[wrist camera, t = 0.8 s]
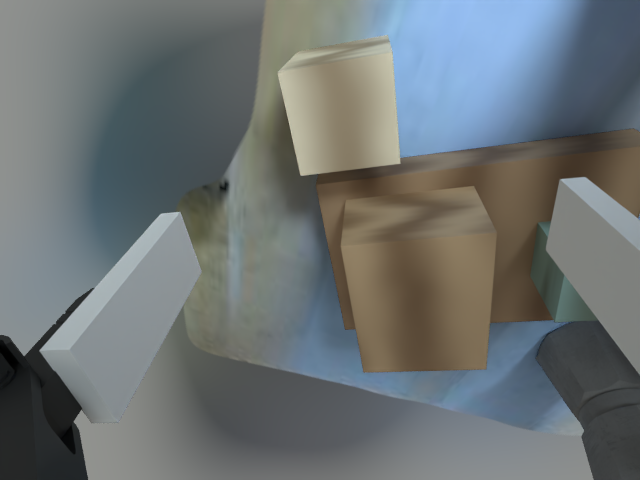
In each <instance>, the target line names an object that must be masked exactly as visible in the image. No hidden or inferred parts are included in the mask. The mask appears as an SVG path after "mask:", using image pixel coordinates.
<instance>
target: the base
mask: <svg viewBox="0 0 640 480" xmlns="http://www.w3.org/2000/svg"><path fill="white" fill-rule="evenodd" d="M579 177H586V178H587V179H588V180H590V181H591V182H592V183H593V184H595V185H596V186H597V187H599V188H600V189H601V190H602V191H604V192H605V193H606V194H607V195H609V196H610V197H611V198H613V199H614V200H615V201H616V202H618V203H619V204H620V205H621V206H623V207H624V208H625V209H627V210H628V211H629V212H630V213H632V214H633V215H634V216H635V217H637V218H638V217H639V214H640V132H639V131H637V130H636V129H626V130H618V131H610V132H602V133H594V134H587V135H579V136H571V137H563V138H555V139H547V140H539V141H531V142H523V143H515V144H507V145H499V146H491V147H483V148H476V149H468V150H460V151H452V152H444V153H436V154H428V155H420V156H412V157H404V158H400V164H394V165H386V166H378V167H370V168H361V169H353V170H345V171H337V172H329V173H321V174H318V178H317V182H316V189H317V194H318V199H319V204H320V209H321V213H322V218H323V223H324V228H325V233H326V238H327V243H328V248H329V253H330V258H331V263H332V268H333V273H334V277H335V282H336V287H337V292H338V297H339V302H340V307H341V312H342V317H343V322H344V327H345V330H348V329H356V333H357V339H358V344H359V349H360V355H361V360H362V366H363V371H364V372H403V371H442V370H481V369H486V366H487V354H488V341H489V328H490V323H499V322H521V321H542V320H554V322H574V321H596V320H598V319H597V318H596V316H595V315H594V314H593V312H592V311H591V310H590V308H589V307H588V306H587V304H586V303H585V302H584V300H583V299H582V298H581V296H580V295H579V294H578V292H577V291H576V290H575V288H574V287H573V286H572V284H571V283H570V282H569V280H568V279H567V278H566V276H565V275H564V274H563V272H562V271H561V270H560V268H559V267H558V266H557V264H556V263H555V262H554V260H553V259H552V258H551V256H550V255H549V254H548V252H547V251H546V245H547V240H548V235H549V230H550V225H551V220H552V215H553V210H554V205H555V200H556V195H557V190H558V186H559V181H560V179H567V178H579Z"/></svg>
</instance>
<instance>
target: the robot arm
mask: <svg viewBox="0 0 640 480" xmlns="http://www.w3.org/2000/svg"><path fill="white" fill-rule="evenodd" d="M546 251H547V252H548V254H549V255H550V256H551V258H552V259H553V260H554V262H555V263H556V264H557V266H558V267H559V268H560V270H561V271H562V272H563V274H564V275H565V276H566V278H567V279H568V280H569V282H570V283H571V284H572V286H573V287H574V288H575V290H576V291H577V292H578V294H579V295H580V296H581V298H582V299H583V300H584V302H585V303H586V304H587V306H588V307H589V308H590V310H591V311H592V312H593V314H594V315H595V316H596V318H597V319H598V320H599V322H600V323H601V324H602V326H603V327H604V328H605V330H606V331H607V332H608V333H609V335H610V336H611V337H612V339H613V340H614V341H615V343H616V344H617V345H618V347H619V348H620V349H621V351H622V352H623V353H624V355H625V356H626V357H627V359H628V360H629V361H630V363H631V364H632V365H633V367H634V368H635V369H636V371H637V372H638V373H639V375H640V220H639V219H638V218H637V217H635V216H634V215H633V214H632V213H630V212H629V211H628V210H627V209H625V208H624V207H623V206H621V205H620V204H619V203H618V202H616V201H615V200H614V199H613V198H611V197H610V196H609V195H607V194H606V193H605V192H604V191H602V190H601V189H600V188H599V187H597V186H596V185H595V184H593V183H592V182H591V181H590V180H588V179H587V178H586V177H579V178H567V179H560V181H559V186H558V190H557V195H556V200H555V205H554V210H553V215H552V220H551V225H550V230H549V235H548V240H547V245H546ZM201 272H202V271H201V268H200V266H199V263H198V260H197V257H196V254H195V252H194V249H193V246H192V243H191V240H190V238H189V235H188V232H187V229H186V227H185V224H184V221H183V218H182V215H181V213H180V212H175V213H164V214H160V215H159V216H158V218H157V219H156V220H155V221H154V222H153V223H152V224H151V225H150V227H149V228H148V229H147V230H146V231H145V232H144V233H143V234H142V236H141V237H140V238H139V239H138V240H137V241H136V242H135V244H134V245H133V246H132V247H131V248H130V249H129V250H128V251H127V253H126V254H125V255H124V256H123V257H122V258H121V259H120V260H119V262H118V263H117V264H116V265H115V266H114V267H113V268H112V269H111V271H110V272H109V273H108V274H107V275H106V276H105V277H104V278H103V280H102V281H101V282H100V283H99V284H98V285H97V286H96V287H95V288H92V289H90V290H89V291H88V292H86V293H85V294H83V295H82V296H81V297H79V298H78V299H77V300H75V302H74V303H73V304H72V305H71V306H70V307H69V308H68V309H67V311H66V313H65V314H63V315H62V316H61V317H60V318H59V319H58V320H57V321H56V324H54V325H53V326H52V327H51V328H50V329H49V330H48V331H47V332H46V333H45V334H44V335H43V337H42V338H41V339H40V340H39V341H38V342H37V343H36V344H35V345H34V346H33V347H32V349H31V350H30V351H29V352H28V353H27V354H26V355H25V356H23V355H22V353H21V352H20V351H19V349H18V348H17V347H16V345H15V344H14V343H13V342H12V340H11V339H10V338H9V337H8V336H4V335H0V480H88V477H87V471H86V466H85V460H84V455H83V449H82V444H81V438H80V433H79V429H78V428H77V426H76V424H75V423H74V422H73V421H74V420H75V418H76V417H77V415H78V414H79V412H80V411H81V409H82V411H83V412H84V413H85V415H86V416H87V418H88V419H89V420H90V422H91V423H118V422H119V421H120V419H121V417H122V415H123V413H124V411H125V410H126V408H127V406H128V404H129V402H130V401H131V399H132V397H133V395H134V393H135V392H136V390H137V388H138V386H139V384H140V383H141V381H142V379H143V377H144V375H145V374H146V372H147V370H148V368H149V366H150V364H151V363H152V361H153V359H154V357H155V355H156V354H157V352H158V350H159V348H160V346H161V345H162V343H163V341H164V339H165V337H166V336H167V334H168V332H169V330H170V328H171V327H172V325H173V323H174V321H175V319H176V317H177V316H178V314H179V312H180V310H181V308H182V307H183V305H184V303H185V301H186V299H187V298H188V296H189V294H190V292H191V290H192V289H193V287H194V285H195V283H196V281H197V280H198V278H199V276H200V274H201Z"/></svg>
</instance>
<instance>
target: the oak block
mask: <svg viewBox="0 0 640 480" xmlns="http://www.w3.org/2000/svg"><path fill="white" fill-rule="evenodd" d="M278 76H279V81H280V85H281V90H282V94H283V99H284V103H285V108H286V112H287V117H288V121H289V126H290V130H291V135H292V139H293V144H294V148H295V153H296V157H297V162H298V166H299V171H300V175H301V176H305V175H313V174H321V173H329V172H337V171H345V170H353V169H361V168H370V167H378V166H386V165H394V164H400V150H399V136H398V122H397V108H396V94H395V80H394V66H393V52H392V49H391V45H390V42H389V38H388V35H384V36H379V37H374V38H368V39H363V40H357V41H352V42H347V43H341V44H336V45H330V46H325V47H320V48H314V49H309V50H303V51H298V52H297V53H296V54H295V55H294V56H293V57H292V58H291V59H290V60H289V61H288V62H287V63H286V64H285V65H284V66H283V67H282V68H281V69H280V70H279V71H278Z"/></svg>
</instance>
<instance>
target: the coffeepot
mask: <svg viewBox="0 0 640 480" xmlns="http://www.w3.org/2000/svg"><path fill="white" fill-rule="evenodd" d="M536 360H537V361H538V363H539V364H540V366H541V367H542V369H543V370H544V372H545V373H546V375H547V376H548V378H549V379H550V381H551V382H552V384H553V385H554V386H555V388H556V389H557V391H558V392H559V394H560V395H561V397H562V398H563V400H564V401H565V403H566V404H567V406H568V407H569V409H570V410H571V412H572V413H573V414H574V416H575V417H576V418H577V419H578V420H579V422H580V423H581V425H582V427H583V429H584V433H583V435H582V440H583V444H584V447H585V451H586V454H587V457H588V461H589V465H590V468H591V472H592V475H593V478H594V480H640V375H639V373H638V372H637V371H636V369H635V368H634V367H633V365H632V364H631V363H630V361H629V360H628V359H627V357H626V356H625V355H624V353H623V352H622V351H621V349H620V348H619V347H618V345H617V344H616V343H615V341H614V340H613V339H612V337H611V336H610V335H609V333H608V332H607V331H606V330H605V328H604V327H603V326H602V324H601V323H600V322H599V320H596V321H574V322H571V323H568V324H565V325H563V326H561V327H559V328H557V329H556V330H554V331H553V332H551V333H550V334H548V335H547V337H546V338H545V339H544V340H543V342H542V343H541V345H540V348H539V353H538V355H537V357H536Z"/></svg>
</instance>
